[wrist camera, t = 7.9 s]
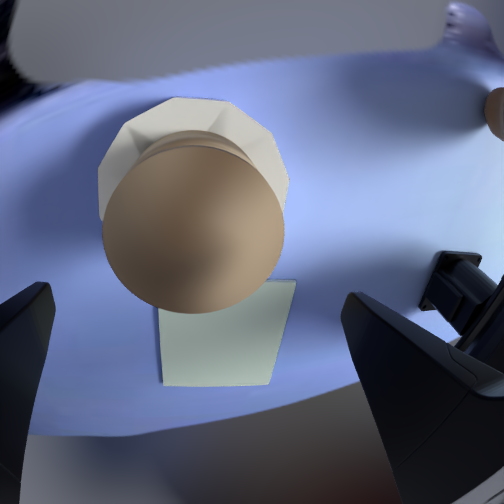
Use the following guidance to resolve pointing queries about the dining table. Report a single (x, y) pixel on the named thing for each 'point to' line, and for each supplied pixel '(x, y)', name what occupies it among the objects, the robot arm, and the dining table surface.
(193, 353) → the mat
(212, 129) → the bowl
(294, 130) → the dining table surface
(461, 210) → the dining table surface
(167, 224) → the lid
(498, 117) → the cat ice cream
